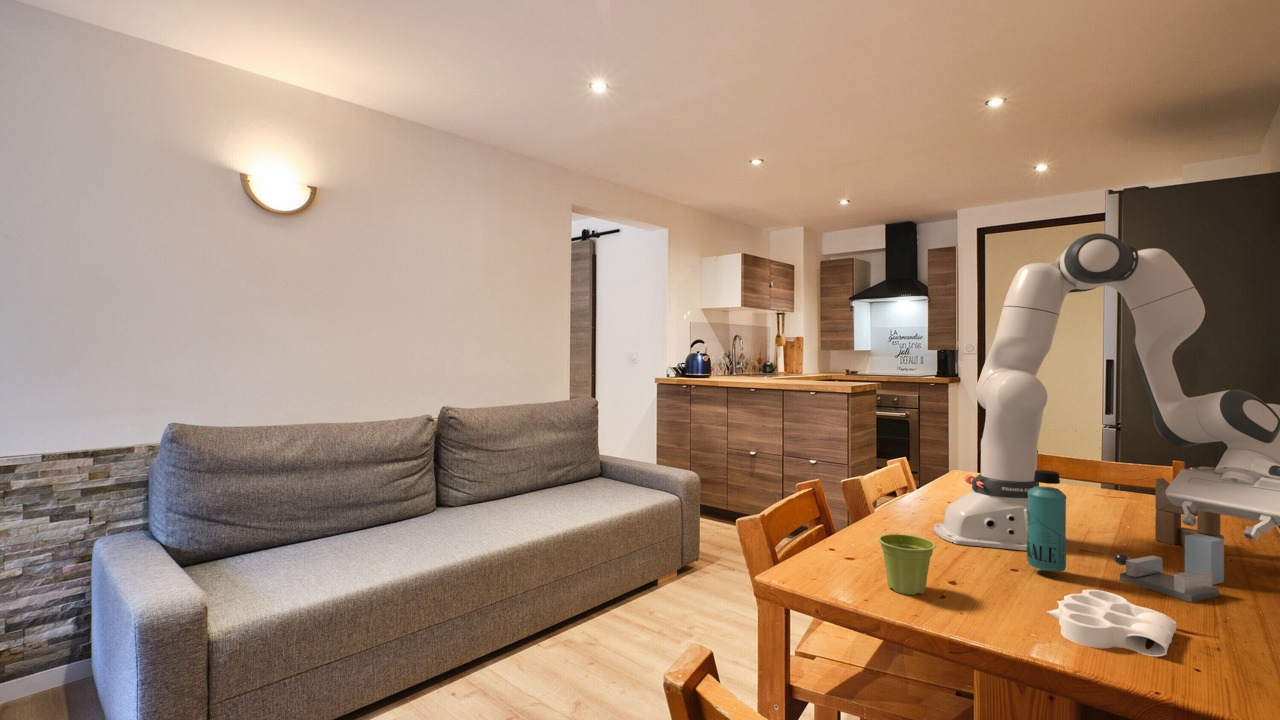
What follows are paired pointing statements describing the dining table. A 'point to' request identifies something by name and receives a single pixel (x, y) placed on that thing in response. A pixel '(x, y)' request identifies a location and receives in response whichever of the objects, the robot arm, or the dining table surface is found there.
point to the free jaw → (1140, 565)
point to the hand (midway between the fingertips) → (1217, 530)
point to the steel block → (1205, 555)
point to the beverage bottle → (1046, 524)
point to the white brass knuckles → (1113, 623)
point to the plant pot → (906, 562)
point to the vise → (1178, 584)
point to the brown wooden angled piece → (1171, 518)
